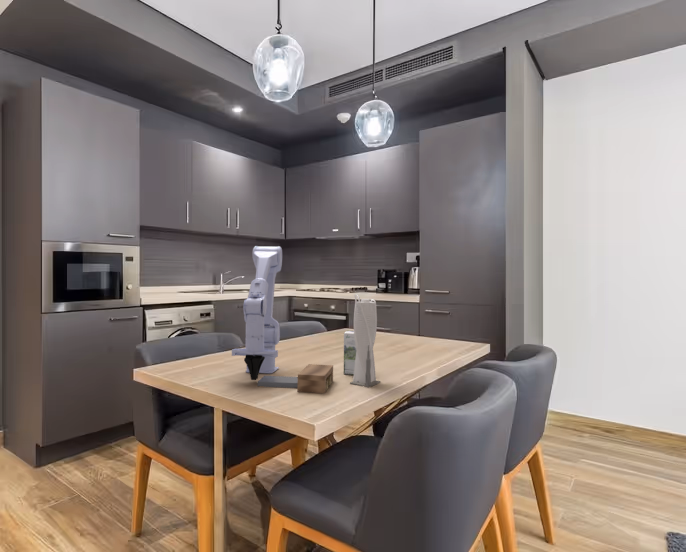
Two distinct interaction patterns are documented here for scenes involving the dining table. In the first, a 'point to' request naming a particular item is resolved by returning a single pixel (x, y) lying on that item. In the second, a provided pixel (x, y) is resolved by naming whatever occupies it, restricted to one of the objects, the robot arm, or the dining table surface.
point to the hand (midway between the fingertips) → (254, 379)
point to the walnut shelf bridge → (315, 378)
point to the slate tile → (278, 381)
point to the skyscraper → (365, 342)
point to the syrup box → (349, 352)
